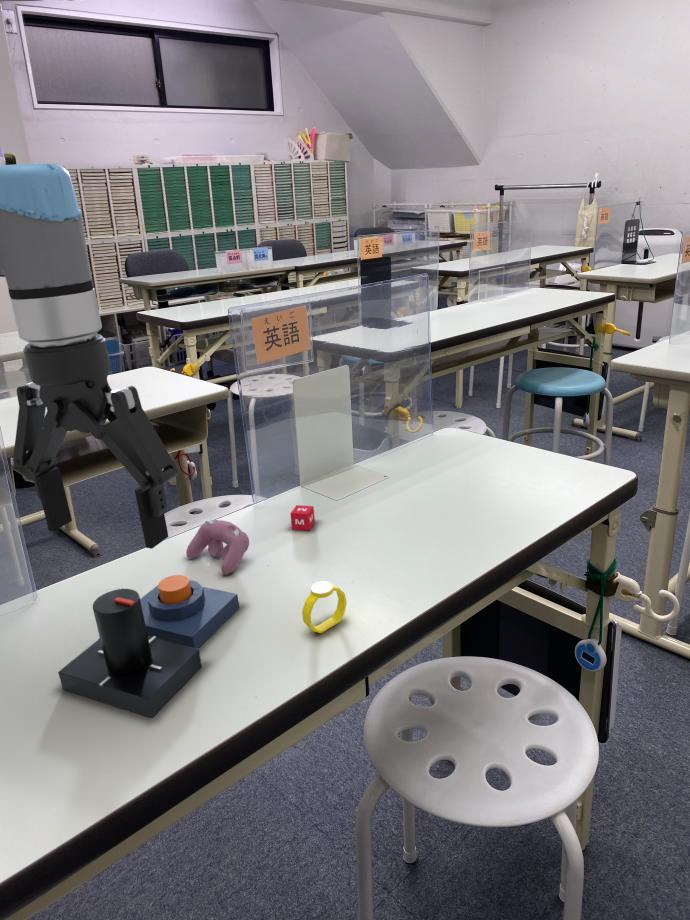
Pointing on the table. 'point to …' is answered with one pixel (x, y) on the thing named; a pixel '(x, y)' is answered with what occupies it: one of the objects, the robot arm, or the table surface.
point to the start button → (174, 589)
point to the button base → (188, 615)
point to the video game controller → (220, 543)
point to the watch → (322, 591)
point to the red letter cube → (302, 517)
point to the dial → (122, 630)
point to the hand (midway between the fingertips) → (107, 533)
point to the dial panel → (133, 677)
